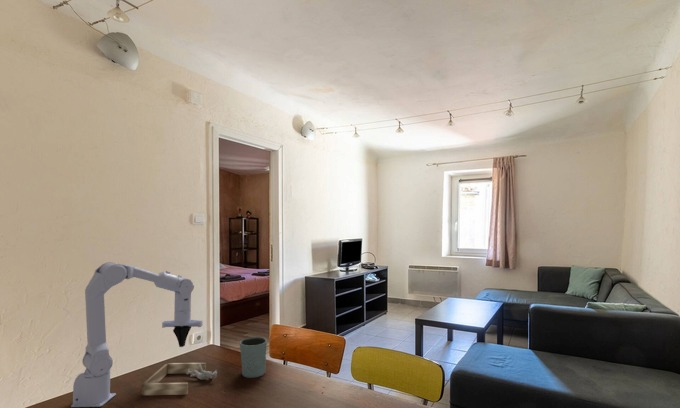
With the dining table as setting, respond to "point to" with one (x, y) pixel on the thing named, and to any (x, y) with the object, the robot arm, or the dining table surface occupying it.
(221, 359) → the dining table surface
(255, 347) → the green cup
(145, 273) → the robot arm
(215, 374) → the soldier figure
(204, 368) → the beech frame
